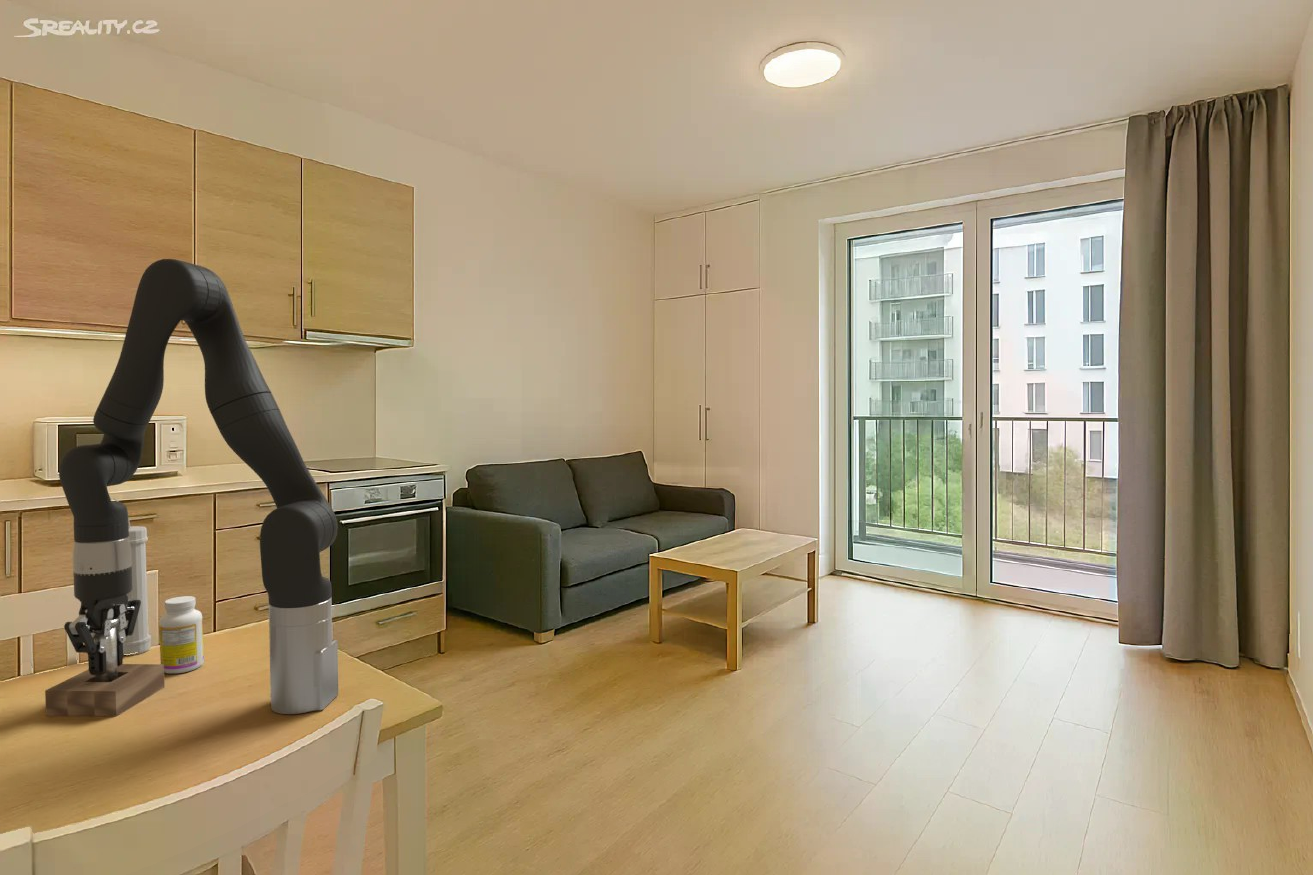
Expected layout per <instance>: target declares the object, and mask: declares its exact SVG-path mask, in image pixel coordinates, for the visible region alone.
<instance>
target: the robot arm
mask: <svg viewBox="0 0 1313 875" xmlns="http://www.w3.org/2000/svg"><path fill="white" fill-rule="evenodd" d="M128 320H129V321H128V324H127V329H126V331H125V336H124V339H123V344H122V347H121V351H120V355H119V358H118V361H117V364H116V366H115V369H114V371H113V373H112V376H111V378H110V380H109V382H108V384H107V387H106V388H105V391H104V392H103V395H102V398H101V400H100V402H99V404H98V406H97V408H96V411H95V413H94V414H93V415H94V416H93V419H92V420H93V421H92V422H93V425H94V427H95V428H96V429H97V430H99V432H101V433H103V435H102V436H103V437H102V440H101V441H100V443H95V444H85V445H84V444H83V445H78V446H74V447H72V448H70V449H69V450H67V451H66V452H65V453H64V455H63V456H62V458H61V460H60V464H59V468H58V476H59V477H58V478H59V480H60V484H61V487H62V491H63V492H64V496H65V498H66V501H67V504H68V507H69V509H70V511H71V513H72V517H73V541H74V542H73V544H74V545H73V550H72V566H73V567H72V569H73V572H72V573H73V574H72V575H73V596H74V598H75V599H77V600H78V601H79V602H80V608H79V611H78V617H77V618H75V619H74V620H73V621H67V622H66V621H65V623H64V626H63V628H64V630H65V632H66V634H67V636H68V638H69V640H70V642H71V644H72V647H73V649H74V651H75V652H76V653H80V654H81V653H83V654H85V653H86V654H87V658H88V660H87V664H88V669H89V672H90V674H91V675H103V674H104V673H106V671H107V667H106V651H105V648H106V638H107V637H108V636H109V635H110V628H111V620H112V619H115V618H119V625H117V626H116V635H117V664H118V666H120V665H122V664H124V663H123V662H124V661H123V660H124V656H123V643H124V642H125V640H126V637H127V636H131V635H132V634H133V632H134V628H135V624H136V620H137V616H138V612H139V609H140V605H141V601H140V600H132V599H128V596H127V594H128V593H129V592H131V590H132V558H131V546H130V541H129V523H128V518H129V513H128V507H127V506H126V504H124V503H122V502H120V501H119V502H117V501H118V500H117V501H116V500H112V498H111V496H110V493H109V491H108V487H113V486H118V485H121V484H123V483H126V482H128V480H130V479H131V478H132V477H133V476H134V475H135V473H136V472H137V470H138V468H139V466H140V464H141V460H142V454H143V449H144V443H145V432H146V429H147V427H148V425H149V423H150V422H151V419H152V417H153V415H154V413H155V411H156V408H157V407H158V405H159V403H160V400H161V397H162V393H163V389H164V383H165V382H164V380H165V378H164V377H165V374H164V372H165V371H164V366H165V364H164V361H165V354H166V349H167V346H168V343H169V341H170V339H171V336H172V335H173V333H174V331H175V329H176V328H177V327H178V326H179V324H180V323H181V321H183V322H184V323H185V324H186V325H187V327H188V328H189V330H190V332H191V333H192V335H193V338H194V339H195V341H196V344H197V345H198V347H199V350H200V352H201V354H202V359H203V364H204V395H205V396H204V397H205V400H206V405H207V408H208V410H209V413H210V414H211V417H212V419H213V420H214V423H215V425H216V427H217V429H218V431H219V433H220V435H221V437H222V438H223V440H224V441H225V442H226V445H227V446H228V447H229V448H230V449H231V451H233V453H235V455H237V456H238V458H239V459H241V460H242V461H243V462H244V463H245V464H246V465H247V466H248V467H249V468H250V469H251V470H253V472H254V473H255V474H256V475H257V476H258V477H259V479H261V481H262V482H263V484H264V485H265V487H266V488H267V489H268V491H269V494H270V495H271V498H272V499H273V502H274V504H275V507H276V508H275V509H273V510H271V511H270V512H269V513H268V514H267V515H266V517H265V518H264V520H263V521H262V524H261V527H260V533H259V536H260V537H259V550H260V553H259V554H260V564H261V566H260V567H261V577H262V583H263V587H264V590H265V591H266V594H267V595H268V621H269V622H268V628H269V629H268V630H269V632H268V633H269V637H268V638H269V676H270V678H269V680H270V681H269V682H270V683H269V684H270V706H271V710H272V711H273V712H275V713H277V714H284V715H297V714H305V713H308V712H313V711H322V710H324V709H325V708H326V707H327V706H329V705H330V703H331V702H332V701H333V700H334V699H335V698H336V697H337V696H339V650H338V649H339V648H338V645H339V644H338V640H337V639H333V615H332V614H333V609H332V608H333V606H332V603H333V602H332V599H333V596H332V595H333V592H332V582H331V580H330V579H329V578H328V577H326V576H323V575H322V569H321V555H320V554H321V553H322V552H323V551H325V550H326V549H329V547H331V546H332V544H334V542H335V540H336V538H337V535H338V529H339V525H338V519H337V516H336V514H335V512H334V509H333V508H332V505H331V504H330V503H329V502H328V501H329V500H327V498H326V496H325V494H324V493H323V492H322V490H321V488H320V486H319V485H318V483H317V482H316V480H315V479H314V477H313V475H312V474H311V472H310V470H309V469H308V467H307V465H306V463H305V462H304V458H303V457H302V455H301V452H300V451H299V450H300V449H299V448H298V445H297V444H296V442H295V440H294V438H293V436H292V434H291V431H290V430H289V427H288V426H287V424H286V422H285V419H284V416H283V414H282V412H281V410H280V408H279V405H278V403H277V401H276V399H275V397H274V395H273V393H272V391H271V388H270V387H269V386H268V384H267V381H266V380H265V378H264V376H263V374H262V372H261V370H260V367H259V365H258V364H257V361H256V359H255V356H254V355H253V353H252V351H251V349H250V347H249V345H248V343H247V341H246V338H245V336H244V333H243V330H242V328H241V325H240V322H239V320H238V316H237V314H236V310H235V308H234V305H233V301H232V299H231V296H230V294H229V291H228V288H227V287H226V284H225V283H224V281H223V280H222V279H221V278H220V276H219V275H218V274H217V273H215V272H214V271H212V270H211V269H208V268H207V267H205V266H201V265H198V264H194V263H192V262H187V261H183V260H179V259H174V258H161V259H158V260H156V261H154V262H152V263H151V264H150V265H149V266H147V267H146V269H145V270H144V271H143V274H142V275H141V278H140V280H139V283H138V285H137V289H136V293H135V296H134V301H133V306H132V309H131V314H130V316H129V319H128ZM126 621H128V625H127V624H126ZM126 627H127V628H126ZM93 630H102V631H101V632H93ZM94 638H97V639H98V644H97V645H96V644H95V642H94Z"/></svg>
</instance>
